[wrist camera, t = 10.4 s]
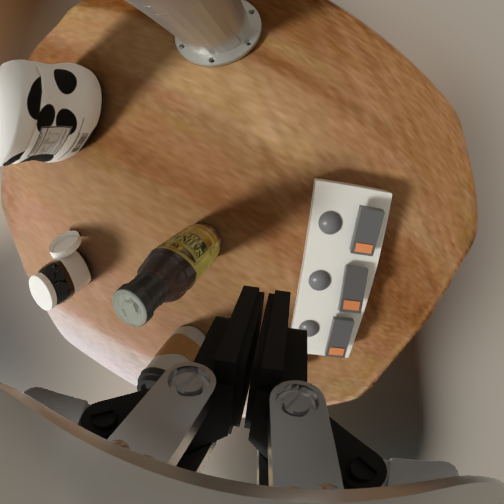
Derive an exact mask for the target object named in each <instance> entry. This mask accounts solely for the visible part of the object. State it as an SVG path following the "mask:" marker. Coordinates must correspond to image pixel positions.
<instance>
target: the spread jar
mask: <svg viewBox="0 0 504 504" xmlns="http://www.w3.org/2000/svg"><path fill="white" fill-rule="evenodd" d="M80 244H81V238H80V235H79V233H78V232H77V231H67V232H65V233H62V234H61V235H59V236H58V237H56V238H55V239H54V240H53V241H52V242H51V244H50V246H49V252H50V254H51V256H52V257H53V258H55V260H53V261H51V262H50V263H48V264H46V265H45V266H43V267H42V268H41V269H40V270H39V271H38V273H36V274H34V275H33V276H31V277H30V279H29V286H30V291H31V294H32V296H33V298H34V300H35V301H36V303H37V304H38V305H39V306H40V307H41V308H42V309H44V310H47V311H49V310H51V309H52V308H53V307H55V306H56V305H59V304H61V303H63V302H65V301H66V300H68V299H69V298H70V297H72V296H73V295H74V294H76V293H77V292H78V291H80V290H81V289H82V288H84V287H85V286H86V285H87V284H88V283H89V282H90V281H91V278H92V276H91V271H90V267H89V265H88V263H87V261H86V259H85V258H84V257H83V255H82V254H81V253H80V252H78V251H77V250H76V249H77V248H78V247H79V246H80Z"/></svg>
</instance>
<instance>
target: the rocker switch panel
mask: <svg viewBox="0 0 504 504" xmlns="http://www.w3.org/2000/svg"><path fill="white" fill-rule="evenodd" d="M391 200H392V193H390V192H388V191H386V190H383V189H378V188H373V187H368V186H362V185H357V184H351V183H345V182H339V181H333V180H326V179H320V178H314V184H313V192H312V200H311V207H310V214H309V221H308V228H307V235H306V242H305V248H304V255H303V261H302V267H301V273H300V279H299V285H298V290H297V296H296V301H295V307H294V312H293V317H292V323H291V328H294V329H302V330H307V354H314V355H324V356H325V348H326V344H327V340H328V336H329V332H330V328H331V324H332V320H333V316H335V317H344V318H353V320H354V326H353V330H352V333H351V337H350V341H349V344H348V348H347V351H346V355H345V357H347V358H348V357H349V354H350V351H351V348H352V346H353V343H354V340H355V337H356V334H357V332H358V329H359V326H360V323H361V320H362V317H363V313H364V310H365V307H366V304H367V301H368V297H369V294H370V290H371V287H372V283H373V280H374V276H375V272H376V269H377V265H378V261H379V257H380V253H381V248H382V244H383V240H384V235H385V231H386V226H387V221H388V216H389V211H390V205H391ZM359 205H364V206H370V207H375V208H381V209H383V210H384V212H385V214H384V218H383V222H382V226H381V230H380V233H379V237H378V240H377V244H376V247H375V251H374V254H373V256H366V255H360V254H353V253H350V249H349V248H350V244H351V240H352V236H353V232H354V227H355V223H356V219H357V214H358V210H359ZM345 265H347V266H355V267H362V268H368V275H367V282H366V288H365V294H364V299H363V305H362V310H361V314H358V313H348V312H339V310H338V305H339V300H340V294H341V288H342V282H343V275H344V269H345Z"/></svg>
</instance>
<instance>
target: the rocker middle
mask: <svg viewBox="0 0 504 504" xmlns="http://www.w3.org/2000/svg"><path fill="white" fill-rule="evenodd" d="M367 275H368V268H362V267H355V266H347V265H345V269H344V275H343V282H342V288H341V294H340V300H339V305H338V310H339V312H348V313H358V314H361V310H362V305H363V299H364V294H365V288H366V282H367Z"/></svg>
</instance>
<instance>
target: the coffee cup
mask: <svg viewBox="0 0 504 504" xmlns="http://www.w3.org/2000/svg"><path fill="white" fill-rule="evenodd" d="M204 339H205V335H204V334H203V333H202V332H201V331H200V330H199V329H197V328H195V327H192V326H183V327H180V328H178V329H177V330H176V331H175V332H174V333H173V335H172V336H171V337H170V338H169V339H168V340H167V342H166V343H165V344H164V345H163V346H162V348H161V349H160V350H159V351H158V353H157V354H156V355H155V357H154V359H153V360H152V361H151V362H150V364H149V365H148V366H147V367H146V368H145V369H144V370H143V371H142V372H141V374H140V376H139V378H138V385H137V390H138V391H142V390H145V389H149V388H152V386H153V385H154V384H155V383H156V382H157V381H158V379H159V378H160V377H161V376H162V375H163V373H164V372H165V371H166V370H167V369H169V368H170V367H171V366H173V365H175V364H178V363H183V362H193V361H194V359H195V357H196V355H197V353H198V351H199V349H200V347H201V345H202V343H203V341H204Z"/></svg>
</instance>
